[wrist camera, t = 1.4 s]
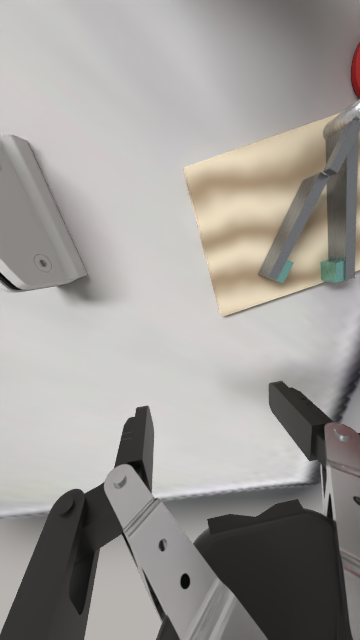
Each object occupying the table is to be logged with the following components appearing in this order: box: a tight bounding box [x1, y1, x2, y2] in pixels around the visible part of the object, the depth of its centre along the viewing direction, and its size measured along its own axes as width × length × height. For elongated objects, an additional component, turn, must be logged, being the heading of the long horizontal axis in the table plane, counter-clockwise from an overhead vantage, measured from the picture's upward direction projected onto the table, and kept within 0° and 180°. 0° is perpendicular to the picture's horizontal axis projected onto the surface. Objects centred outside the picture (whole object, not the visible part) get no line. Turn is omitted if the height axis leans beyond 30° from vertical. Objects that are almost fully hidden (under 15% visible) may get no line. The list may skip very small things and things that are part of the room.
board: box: [183, 112, 360, 317], centre depth 28 cm, size 21×24×1 cm
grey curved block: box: [0, 135, 88, 292], centre depth 22 cm, size 17×5×10 cm, turn 16°
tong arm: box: [258, 119, 360, 283], centre depth 25 cm, size 18×3×4 cm, turn 160°
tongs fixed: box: [320, 99, 360, 283], centre depth 25 cm, size 20×3×5 cm, turn 18°
